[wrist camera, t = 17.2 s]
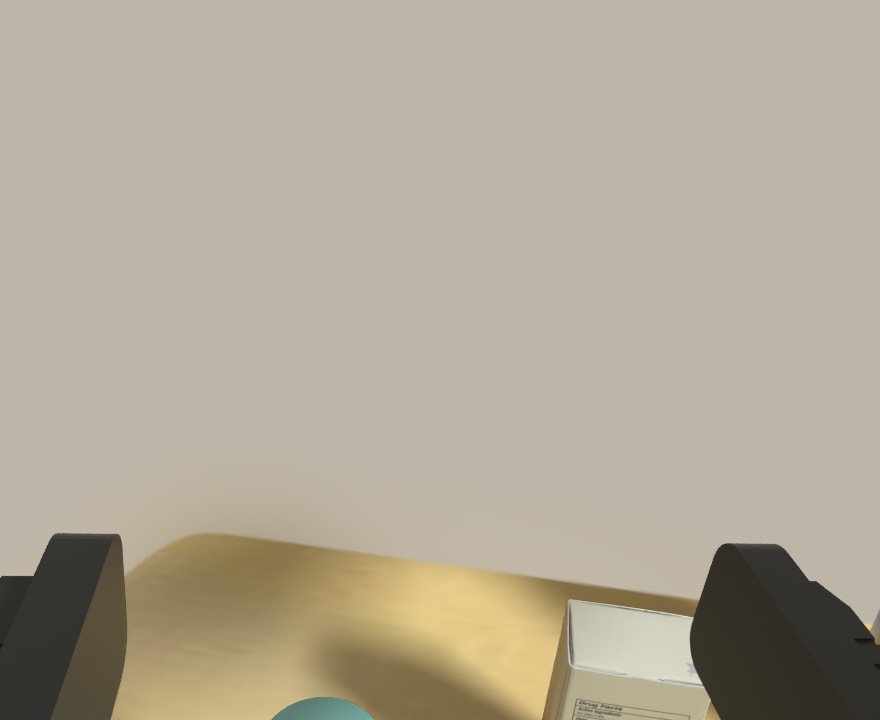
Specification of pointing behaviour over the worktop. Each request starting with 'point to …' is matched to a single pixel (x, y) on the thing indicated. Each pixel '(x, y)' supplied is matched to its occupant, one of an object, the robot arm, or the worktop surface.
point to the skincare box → (624, 666)
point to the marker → (323, 710)
